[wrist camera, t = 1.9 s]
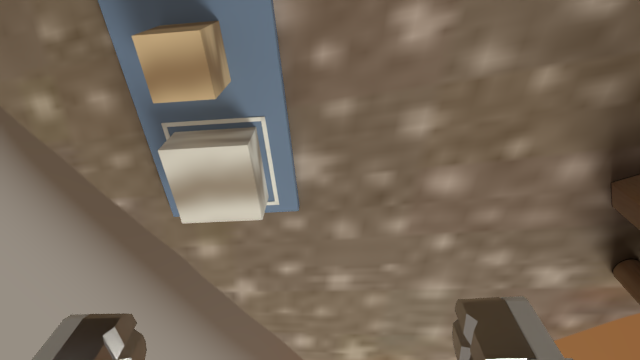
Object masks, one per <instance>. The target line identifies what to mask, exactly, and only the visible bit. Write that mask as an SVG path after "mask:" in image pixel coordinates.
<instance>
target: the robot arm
mask: <svg viewBox="0 0 640 360" xmlns="http://www.w3.org/2000/svg"><path fill="white" fill-rule="evenodd" d="M455 312H456V315H457V318H458V319H457V320H456V321H455V322H454V323H453V331H452V335H453V345H454V350H455V354H456V357H457V360H573V359H571V358H564V357H563V355H562V354H561V352H560V351H559V349H558V347H557V346H556V344H555V343H554V341H553V339H552V338H551V336H550V335H549V333H548V331H547V330H546V328H545V327H544V325H543V323H542V322H541V320H540V319H539V317H538V315H537V314H536V312H535V311H534V309H533V308H532V306H531V304H530V303H529V301H528V300H527V299H526V298H525V297H523V296H520V297H501V298H499V297H494V298H475V299H458V300H457V302H456V306H455ZM136 324H137V322H136V321H135V319H134V317H133V315H132V314H84V315H70V316H68V317H67V318H65V319H64V320H63V321H62V322H61V323H60V325H59V326H58V327H57V328H56V330H55V331H54V332H53V334H52V335H51V336H50V337H49V339H48V340H47V341H46V342H45V344H44V345H43V346H42V347H41V349H40V350H39V351H38V352H37V354H36V355H35V356H34V358H33V359H32V360H145V356H146V351H147V349H146V341H145V339H144V337H143V335H142V334H140V333H139V332H138V331H136V330H135V329H134V328H135V326H136Z"/></svg>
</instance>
